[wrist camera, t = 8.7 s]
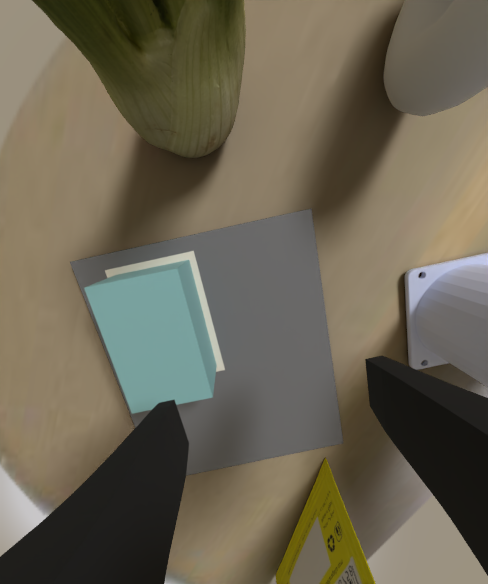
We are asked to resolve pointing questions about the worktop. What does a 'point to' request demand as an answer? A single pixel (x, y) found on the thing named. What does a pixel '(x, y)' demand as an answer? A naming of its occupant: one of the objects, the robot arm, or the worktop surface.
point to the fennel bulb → (163, 64)
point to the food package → (324, 541)
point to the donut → (437, 55)
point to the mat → (249, 338)
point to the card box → (155, 335)
